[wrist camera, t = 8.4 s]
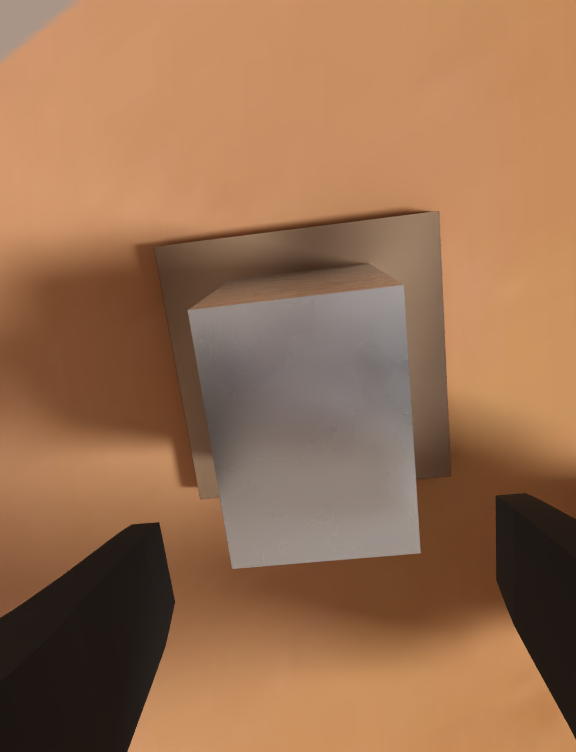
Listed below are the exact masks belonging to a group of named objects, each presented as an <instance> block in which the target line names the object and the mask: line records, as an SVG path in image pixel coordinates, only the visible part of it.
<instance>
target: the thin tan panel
mask: <svg viewBox="0 0 576 752" xmlns="http://www.w3.org/2000/svg"><path fill="white" fill-rule="evenodd" d="M154 250H155V256H156V261H157V266H158V272H159V277H160V283H161V288H162V294H163V299H164V305H165V310H166V316H167V321H168V326H169V332H170V337H171V343H172V348H173V354H174V359H175V365H176V370H177V376H178V381H179V387H180V392H181V397H182V403H183V408H184V414H185V419H186V425H187V430H188V436H189V441H190V447H191V452H192V457H193V463H194V468H195V474H196V479H197V485H198V490H199V496H200V499H211V498H220V495H219V490H218V484H217V478H216V472H215V466H214V461H213V455H212V449H211V443H210V437H209V431H208V426H207V420H206V414H205V408H204V402H203V397H202V391H201V385H200V379H199V373H198V368H197V362H196V356H195V350H194V344H193V338H192V333H191V327H190V321H189V315H188V310H189V309H190V308H191V307H193V306H194V305H196V304H197V303H199V302H200V301H201V300H203V299H204V298H206V297H207V296H208V295H210V294H211V293H213V292H214V291H215V290H217V289H218V288H220V287H221V286H222V285H224V284H225V283H227V282H228V281H229V280H236V279H244V278H252V277H261V276H269V275H277V274H286V273H294V272H302V271H311V270H319V269H327V268H336V267H344V266H352V265H361V264H369V263H370V264H371V265H373V266H375V267H376V268H378V269H379V270H381V271H382V272H384V273H386V274H387V275H389V276H390V277H392V278H393V279H395V280H397V281H398V282H400V283H401V284H403V285H404V297H405V313H406V329H407V345H408V361H409V376H410V392H411V408H412V424H413V440H414V456H415V472H416V479H427V478H438V477H448V476H451V467H450V444H449V421H448V398H447V376H446V353H445V330H444V307H443V284H442V262H441V239H440V216H439V211H434V212H425V213H418V214H410V215H402V216H394V217H386V218H378V219H370V220H362V221H354V222H346V223H338V224H330V225H322V226H314V227H306V228H298V229H290V230H282V231H274V232H266V233H258V234H250V235H242V236H235V237H227V238H219V239H211V240H203V241H195V242H187V243H179V244H171V245H163V246H156V247H154Z"/></svg>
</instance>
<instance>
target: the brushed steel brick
mask: <svg viewBox="0 0 576 752" xmlns="http://www.w3.org/2000/svg"><path fill="white" fill-rule="evenodd" d="M188 315H189V321H190V327H191V333H192V338H193V344H194V350H195V356H196V362H197V368H198V373H199V379H200V385H201V391H202V397H203V402H204V408H205V414H206V420H207V426H208V431H209V437H210V443H211V449H212V455H213V461H214V466H215V472H216V478H217V484H218V490H219V495H220V501H221V507H222V513H223V519H224V524H225V530H226V536H227V542H228V548H229V554H230V559H231V565H232V569H238V568H250V567H262V566H274V565H286V564H298V563H310V562H322V561H334V560H346V559H358V558H370V557H382V556H394V555H406V554H418V553H421V551H420V535H419V519H418V504H417V488H416V472H415V456H414V440H413V424H412V408H411V392H410V376H409V361H408V345H407V329H406V313H405V297H404V285H403V284H401V283H400V282H398V281H397V280H395V279H393V278H392V277H390V276H389V275H387V274H386V273H384V272H382V271H381V270H379V269H378V268H376V267H375V266H373V265H371V264H370V263H369V264H361V265H352V266H344V267H336V268H327V269H319V270H311V271H302V272H294V273H286V274H277V275H269V276H261V277H252V278H244V279H236V280H229V281H228V282H227V283H225V284H224V285H222V286H221V287H220V288H218V289H217V290H215V291H214V292H213V293H211V294H210V295H208V296H207V297H206V298H204V299H203V300H201V301H200V302H199V303H197V304H196V305H194V306H193V307H191V308H190V309H189V310H188Z"/></svg>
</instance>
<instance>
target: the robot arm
mask: <svg viewBox="0 0 576 752" xmlns="http://www.w3.org/2000/svg"><path fill="white" fill-rule="evenodd" d="M496 580H497V583H498V585H499V588H500V591H501V593H502V596H503V599H504V601H505V604H506V607H507V609H508V612H509V614H510V616H511V619H512V621H513V624H514V626H515V628H516V630H517V632H518V634H519V635H520V637H521V639H522V641H523V643H524V645H525V647H526V648H527V650H528V652H529V654H530V656H531V658H532V660H533V661H534V663H535V665H536V667H537V669H538V671H539V672H540V674H541V676H542V678H543V680H544V681H545V683H546V685H547V687H548V689H549V691H550V692H551V694H552V696H553V698H554V700H555V701H556V703H557V705H558V707H559V709H560V711H561V712H562V714H563V716H564V718H565V720H566V722H567V723H568V725H569V727H570V729H571V731H572V733H573V735H574V737H575V739H576V519H574V518H572V517H570V516H569V515H567V514H565V513H563V512H561V511H559V510H558V509H556V508H554V507H552V506H550V505H548V504H547V503H545V502H543V501H541V500H539V499H537V498H535V497H533V496H531V495H528V494H526V493H523V494H511V495H498V496H496ZM174 604H175V600H174V595H173V590H172V585H171V580H170V575H169V570H168V564H167V559H166V554H165V549H164V544H163V539H162V534H161V529H160V524H159V522H158V523H145V524H133V525H131V526H129V527H127V528H126V529H124V530H123V531H121V532H120V533H118V534H117V535H116V536H114V537H113V538H112V539H110V540H109V541H108V542H106V543H105V544H104V545H102V546H101V547H100V548H98V549H97V550H96V551H94V552H93V553H92V554H91V555H89V556H88V557H87V558H85V559H84V560H83V561H81V562H80V563H79V564H77V565H76V566H75V567H73V568H72V569H71V570H69V571H68V572H67V573H65V574H64V575H63V576H61V577H60V578H58V579H57V580H56V581H54V582H53V583H51V584H50V585H49V586H47V587H46V588H44V589H43V590H41V591H40V592H39V593H37V594H36V595H34V596H33V597H31V598H30V599H29V600H27V601H26V602H24V603H23V604H21V605H20V606H18V607H17V608H15V609H14V610H12V611H11V612H9V613H8V614H6V615H4V616H3V617H1V618H0V752H127V751H128V748H129V746H130V743H131V740H132V737H133V735H134V732H135V729H136V727H137V724H138V721H139V718H140V716H141V713H142V710H143V707H144V705H145V702H146V699H147V696H148V694H149V691H150V688H151V686H152V683H153V680H154V677H155V674H156V672H157V669H158V666H159V663H160V660H161V657H162V655H163V652H164V649H165V646H166V641H167V637H168V633H169V628H170V624H171V619H172V614H173V609H174Z"/></svg>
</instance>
